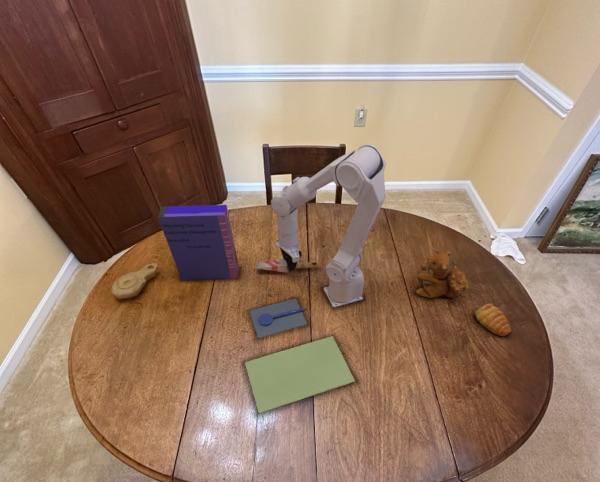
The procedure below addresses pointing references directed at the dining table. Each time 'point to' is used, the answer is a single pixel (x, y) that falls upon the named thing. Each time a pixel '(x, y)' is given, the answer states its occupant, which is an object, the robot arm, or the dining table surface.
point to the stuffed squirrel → (441, 278)
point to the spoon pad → (280, 322)
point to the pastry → (493, 319)
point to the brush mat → (297, 374)
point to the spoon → (275, 316)
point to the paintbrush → (285, 265)
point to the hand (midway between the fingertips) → (289, 264)
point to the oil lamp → (133, 282)
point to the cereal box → (200, 241)
